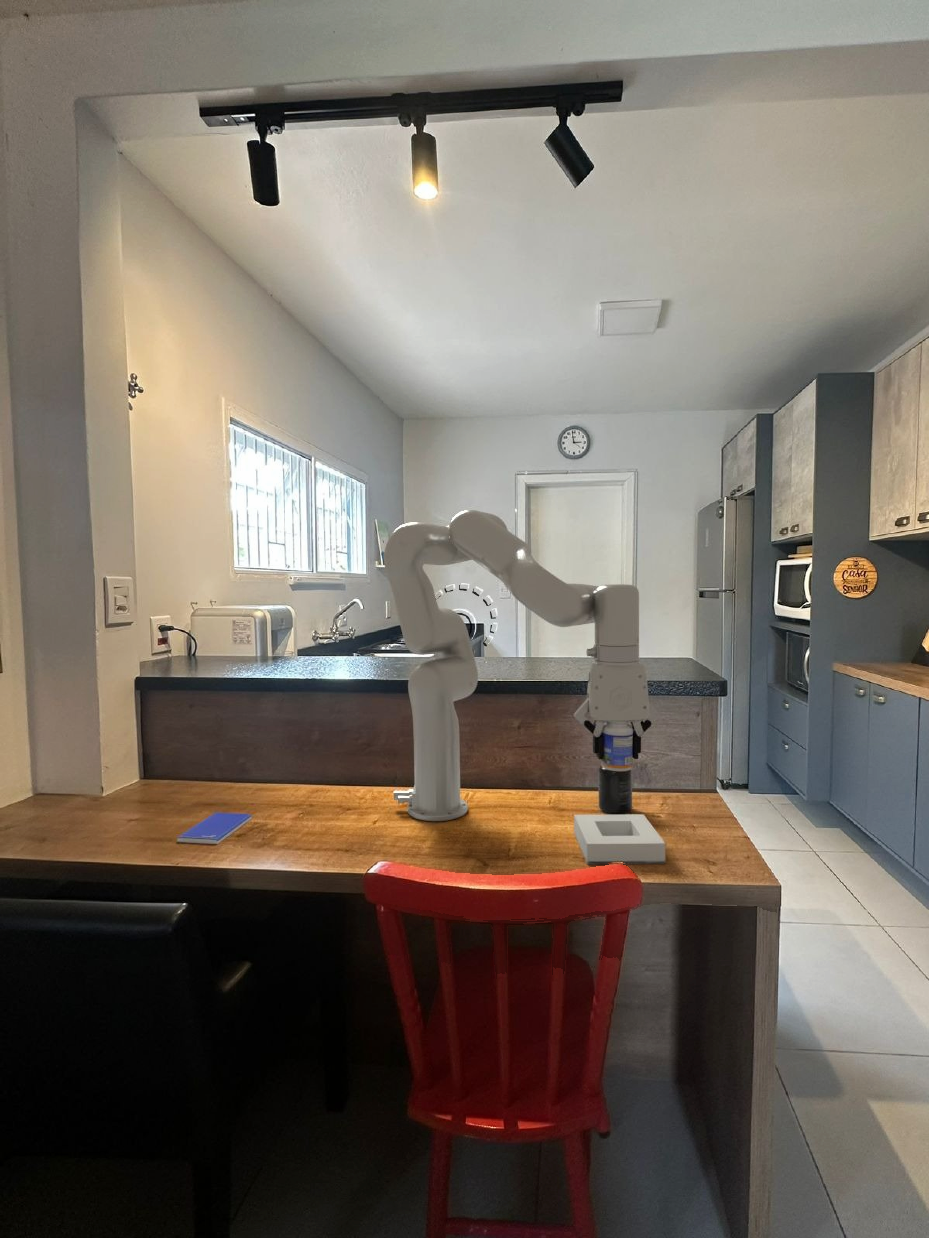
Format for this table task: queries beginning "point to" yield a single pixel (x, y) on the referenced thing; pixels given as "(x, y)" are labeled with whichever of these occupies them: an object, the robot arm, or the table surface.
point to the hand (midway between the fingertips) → (616, 756)
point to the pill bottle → (617, 746)
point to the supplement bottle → (615, 791)
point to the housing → (618, 839)
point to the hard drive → (215, 828)
